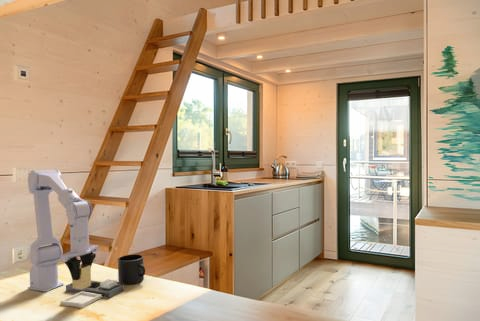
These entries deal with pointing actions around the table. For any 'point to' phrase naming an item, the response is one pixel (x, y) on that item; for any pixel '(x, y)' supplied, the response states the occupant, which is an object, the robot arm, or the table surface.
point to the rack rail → (100, 288)
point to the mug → (130, 269)
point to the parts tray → (81, 299)
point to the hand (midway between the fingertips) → (80, 277)
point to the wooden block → (83, 277)
